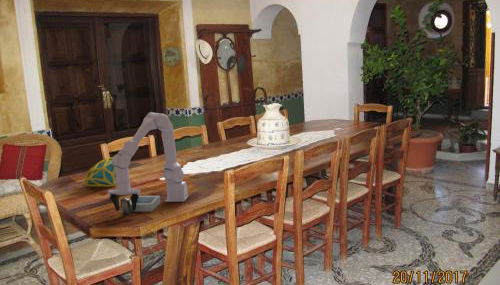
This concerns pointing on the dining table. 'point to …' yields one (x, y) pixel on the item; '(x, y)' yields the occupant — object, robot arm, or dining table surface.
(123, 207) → the battery cell
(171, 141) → the robot arm
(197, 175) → the dining table surface
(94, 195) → the dining table surface
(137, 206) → the dish
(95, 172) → the decorative object
